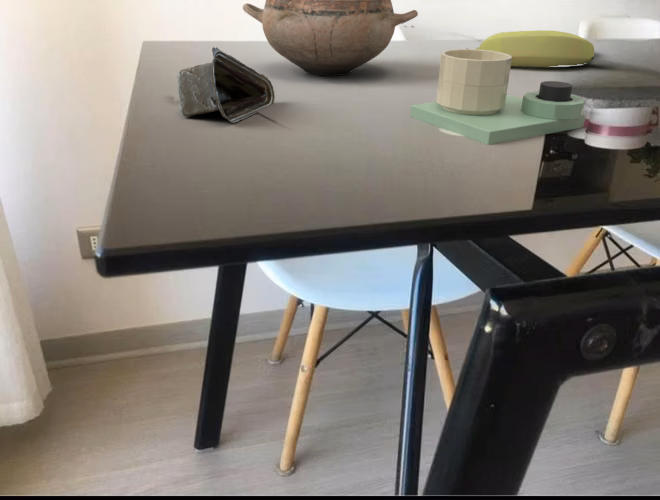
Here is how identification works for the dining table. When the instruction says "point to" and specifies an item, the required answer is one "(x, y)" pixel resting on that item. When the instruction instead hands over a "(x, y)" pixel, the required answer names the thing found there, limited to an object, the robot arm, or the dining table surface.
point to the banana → (541, 48)
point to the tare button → (555, 91)
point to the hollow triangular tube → (223, 88)
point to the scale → (508, 118)
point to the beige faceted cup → (473, 81)
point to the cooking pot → (328, 31)
